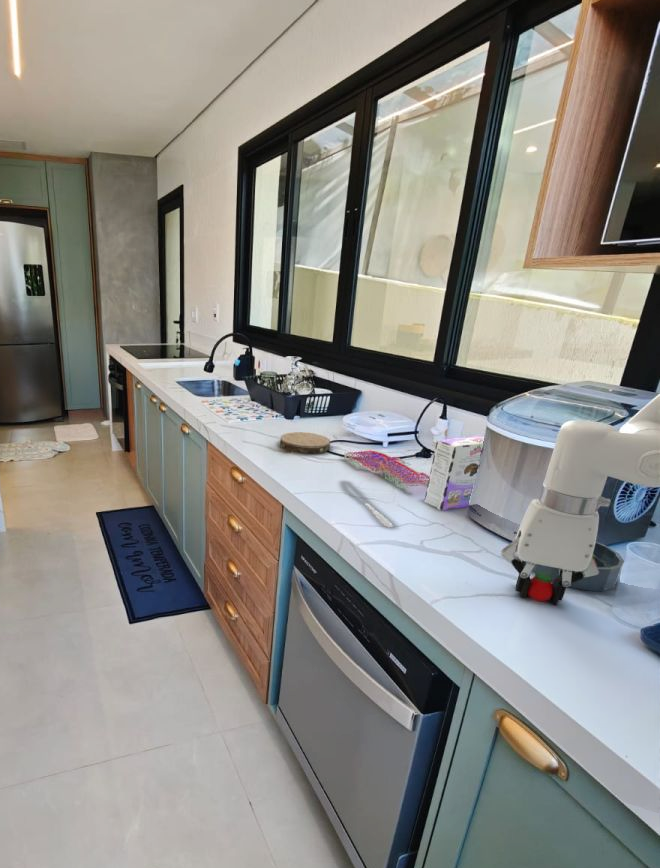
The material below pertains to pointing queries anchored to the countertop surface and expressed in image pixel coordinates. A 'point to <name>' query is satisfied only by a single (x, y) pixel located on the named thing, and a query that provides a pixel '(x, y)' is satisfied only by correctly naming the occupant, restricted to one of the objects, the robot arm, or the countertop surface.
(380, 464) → the speckled fish figure
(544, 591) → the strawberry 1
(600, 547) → the bowl
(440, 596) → the countertop surface
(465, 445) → the candy box
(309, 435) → the wooden disc
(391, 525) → the butter knife
